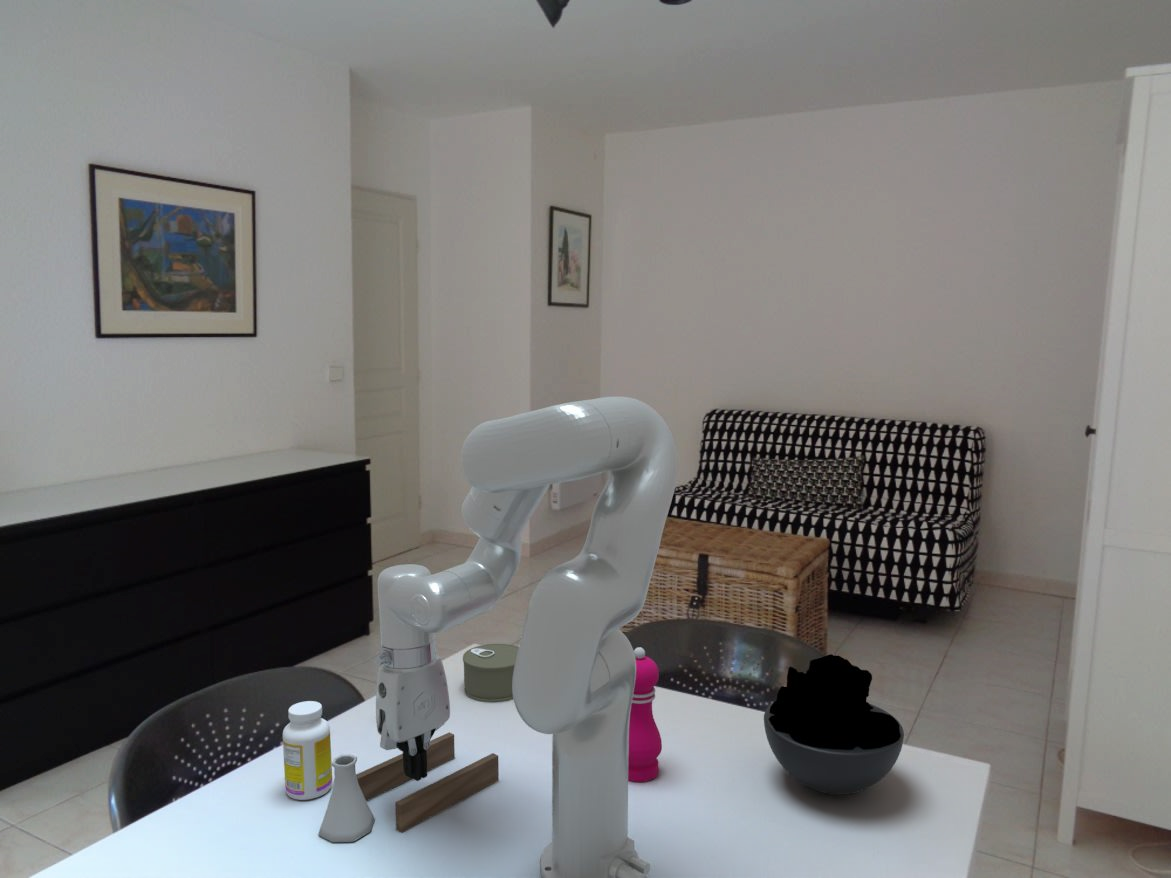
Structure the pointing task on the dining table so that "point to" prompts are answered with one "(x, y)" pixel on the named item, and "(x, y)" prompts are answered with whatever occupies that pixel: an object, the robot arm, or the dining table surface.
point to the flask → (346, 805)
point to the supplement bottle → (307, 752)
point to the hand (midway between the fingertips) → (416, 775)
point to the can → (489, 672)
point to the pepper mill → (643, 722)
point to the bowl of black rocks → (832, 728)
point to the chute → (435, 794)
